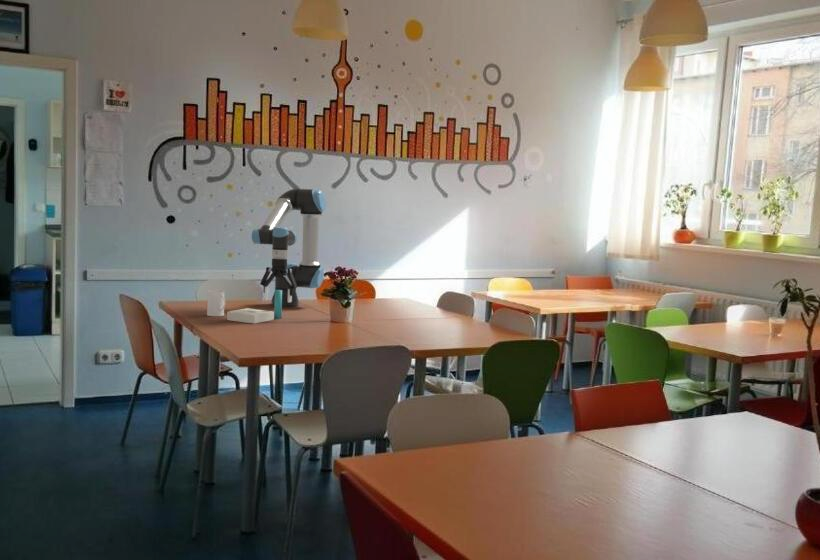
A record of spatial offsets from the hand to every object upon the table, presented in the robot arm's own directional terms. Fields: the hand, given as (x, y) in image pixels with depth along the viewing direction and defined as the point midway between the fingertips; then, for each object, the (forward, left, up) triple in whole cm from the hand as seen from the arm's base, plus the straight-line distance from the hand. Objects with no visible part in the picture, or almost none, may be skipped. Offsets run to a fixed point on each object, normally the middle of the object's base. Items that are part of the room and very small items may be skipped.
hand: (277, 300), depth 403 cm
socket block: (-7, -13, -9) cm, 17 cm away
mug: (-27, -13, -9) cm, 31 cm away
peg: (0, 0, -9) cm, 9 cm away
